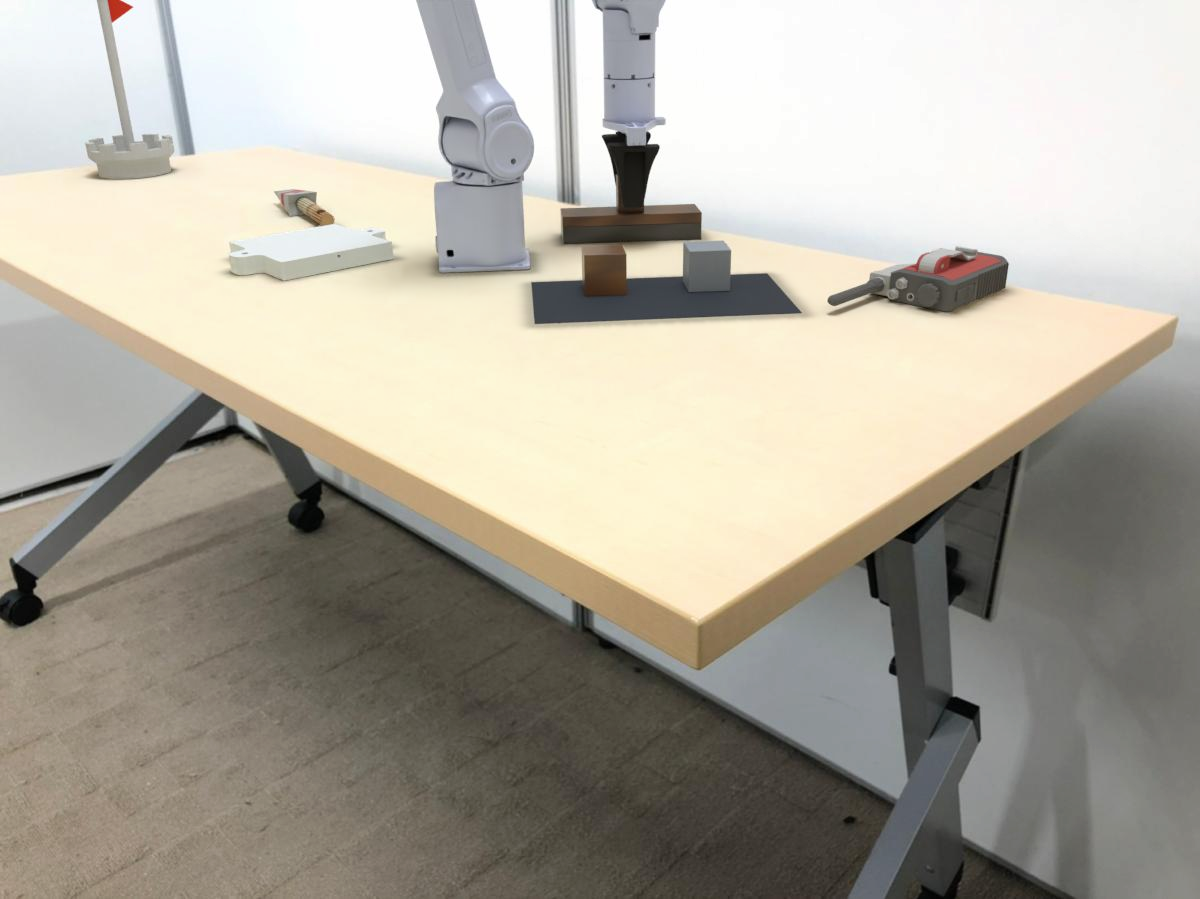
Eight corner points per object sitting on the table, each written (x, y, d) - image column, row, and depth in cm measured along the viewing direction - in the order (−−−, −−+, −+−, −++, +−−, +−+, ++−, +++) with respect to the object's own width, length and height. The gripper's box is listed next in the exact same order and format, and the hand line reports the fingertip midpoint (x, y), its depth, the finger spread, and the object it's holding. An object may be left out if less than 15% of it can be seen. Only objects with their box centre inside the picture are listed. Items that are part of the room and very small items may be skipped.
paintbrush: (296, 178, 148) (340, 208, 132) (298, 197, 149) (343, 230, 133) (268, 180, 146) (310, 211, 130) (270, 200, 147) (312, 233, 132)
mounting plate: (260, 285, 108) (257, 266, 107) (209, 262, 117) (206, 245, 116) (413, 255, 118) (411, 238, 118) (355, 236, 127) (353, 220, 127)
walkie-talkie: (933, 271, 108) (818, 314, 95) (938, 228, 106) (822, 265, 94) (1015, 287, 102) (905, 334, 90) (1022, 241, 100) (911, 283, 88)
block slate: (688, 292, 102) (689, 251, 100) (682, 281, 106) (683, 241, 104) (730, 290, 102) (731, 249, 101) (722, 280, 106) (723, 240, 104)
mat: (534, 325, 94) (534, 323, 94) (531, 284, 106) (531, 282, 106) (802, 314, 95) (802, 312, 95) (767, 275, 108) (767, 273, 108)
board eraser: (563, 244, 122) (561, 181, 119) (561, 235, 126) (559, 173, 123) (701, 240, 123) (702, 176, 120) (694, 230, 127) (695, 169, 124)
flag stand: (124, 182, 165) (82, -29, 153) (75, 176, 172) (31, -28, 159) (194, 170, 175) (160, -30, 163) (145, 164, 182) (109, -28, 169)
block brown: (585, 296, 101) (584, 255, 100) (582, 285, 105) (581, 245, 103) (626, 294, 102) (626, 253, 100) (622, 283, 105) (622, 243, 104)
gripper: (674, 82, 111) (673, 212, 117) (656, 71, 124) (656, 188, 130) (607, 84, 110) (609, 215, 116) (596, 72, 124) (598, 190, 129)
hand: (630, 201), depth 123 cm, fingers open, 6 cm apart
